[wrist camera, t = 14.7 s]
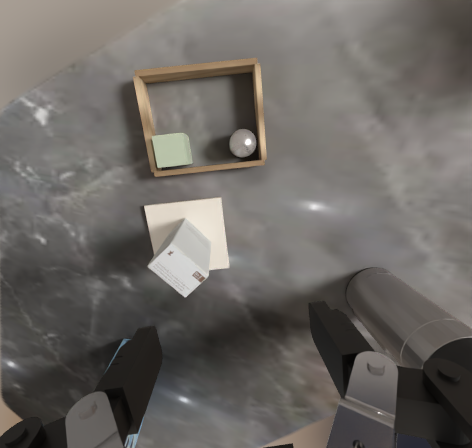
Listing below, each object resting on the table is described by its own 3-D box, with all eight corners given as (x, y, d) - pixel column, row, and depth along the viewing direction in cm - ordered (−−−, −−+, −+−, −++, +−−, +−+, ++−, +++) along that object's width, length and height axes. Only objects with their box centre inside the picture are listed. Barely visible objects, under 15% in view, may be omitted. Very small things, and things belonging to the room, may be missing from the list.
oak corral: (263, 164, 37) (267, 164, 34) (158, 175, 37) (152, 177, 34) (256, 66, 33) (259, 57, 31) (139, 78, 33) (131, 70, 30)
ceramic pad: (229, 265, 41) (229, 267, 40) (159, 273, 41) (158, 275, 40) (220, 196, 38) (220, 197, 37) (145, 205, 38) (144, 206, 37)
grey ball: (254, 155, 37) (257, 155, 33) (230, 158, 37) (231, 158, 33) (252, 131, 36) (255, 127, 32) (228, 133, 36) (228, 130, 32)
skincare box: (167, 234, 39) (142, 267, 27) (186, 215, 38) (168, 240, 26) (195, 259, 40) (182, 301, 28) (214, 241, 39) (209, 276, 27)
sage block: (192, 163, 37) (187, 164, 32) (166, 166, 37) (157, 167, 32) (188, 136, 36) (182, 132, 31) (161, 139, 36) (151, 136, 31)
